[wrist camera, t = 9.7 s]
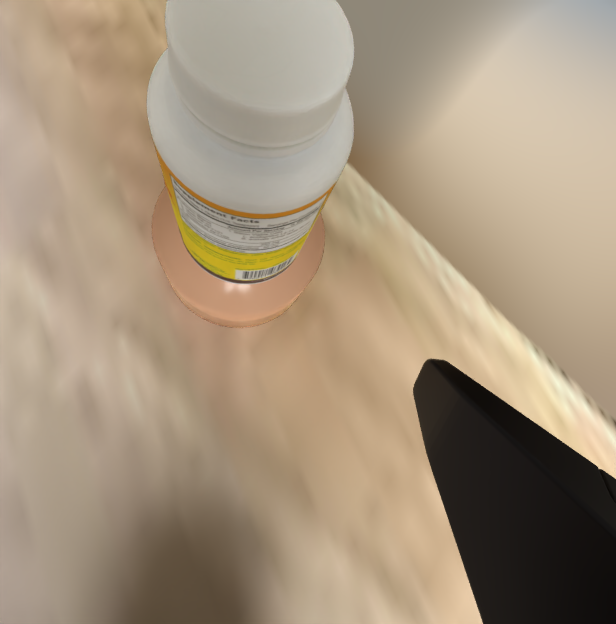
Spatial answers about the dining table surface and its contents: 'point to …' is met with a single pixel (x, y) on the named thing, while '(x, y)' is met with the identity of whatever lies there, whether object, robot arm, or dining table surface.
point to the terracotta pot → (223, 295)
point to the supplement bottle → (251, 127)
